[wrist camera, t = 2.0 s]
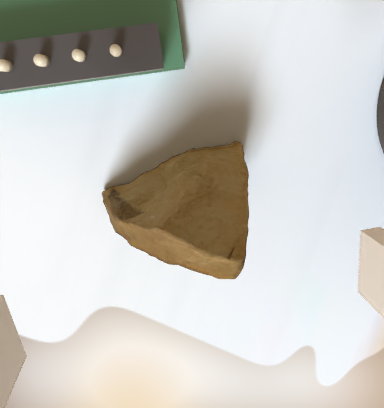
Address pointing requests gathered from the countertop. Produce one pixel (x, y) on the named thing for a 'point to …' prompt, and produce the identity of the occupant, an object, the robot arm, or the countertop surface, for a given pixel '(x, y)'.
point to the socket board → (92, 20)
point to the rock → (188, 210)
